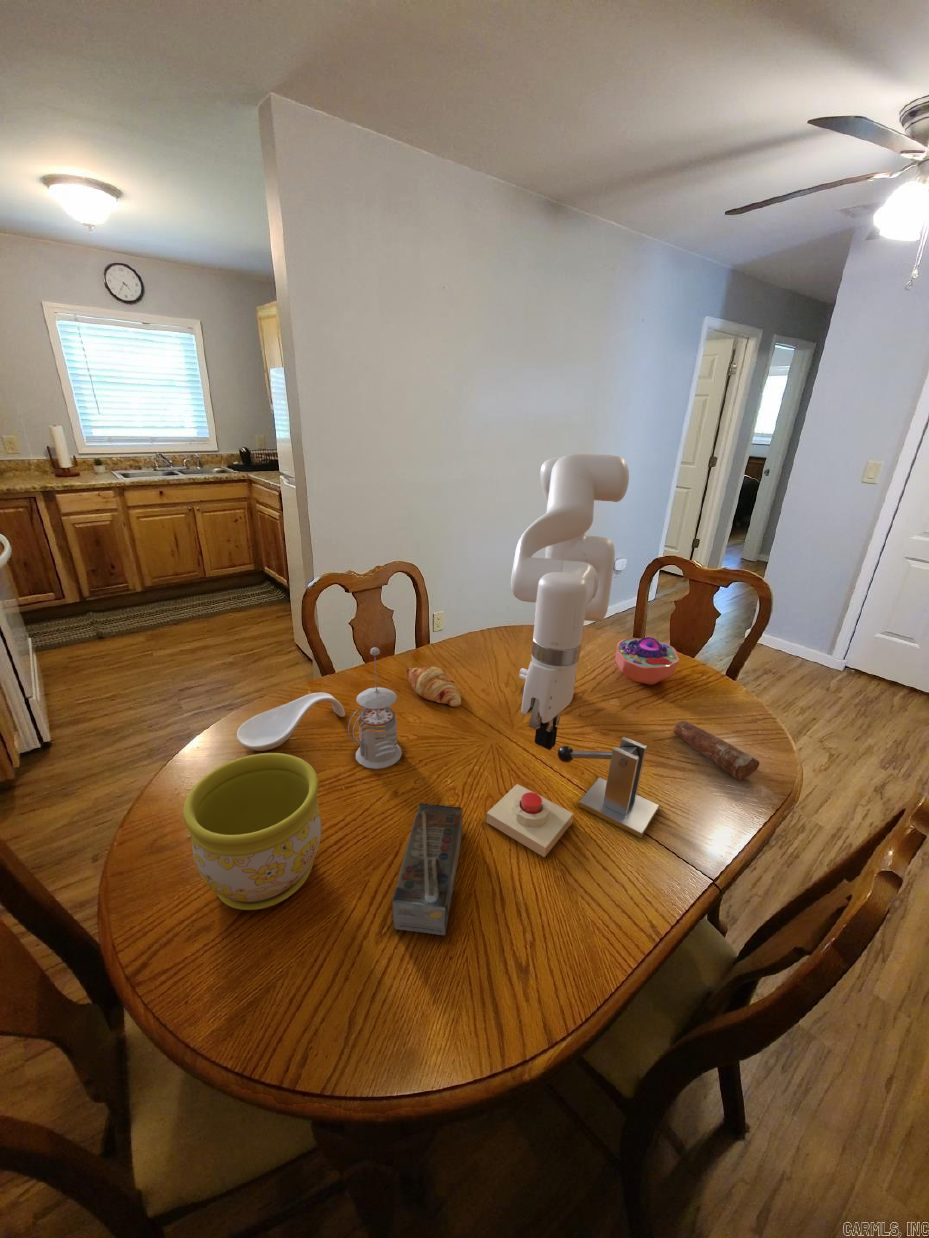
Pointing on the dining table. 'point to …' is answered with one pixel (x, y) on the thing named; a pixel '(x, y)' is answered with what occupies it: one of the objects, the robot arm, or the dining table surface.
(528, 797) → the button
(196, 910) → the dining table surface
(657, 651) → the cell model
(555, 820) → the button block
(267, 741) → the spoon rest
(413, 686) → the croissant
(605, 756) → the lever
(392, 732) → the french press
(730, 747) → the salami
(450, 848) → the grey printed box
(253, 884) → the flowerpot
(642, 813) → the bracket
